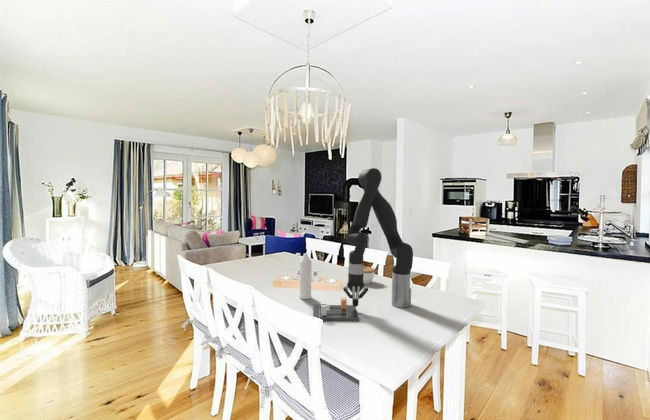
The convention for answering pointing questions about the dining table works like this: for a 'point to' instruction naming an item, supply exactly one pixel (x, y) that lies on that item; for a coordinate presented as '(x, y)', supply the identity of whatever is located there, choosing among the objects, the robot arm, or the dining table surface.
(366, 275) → the lidded bowl
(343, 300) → the fader orange
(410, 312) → the dining table surface
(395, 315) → the dining table surface
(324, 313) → the white banded fader cap
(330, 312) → the console
